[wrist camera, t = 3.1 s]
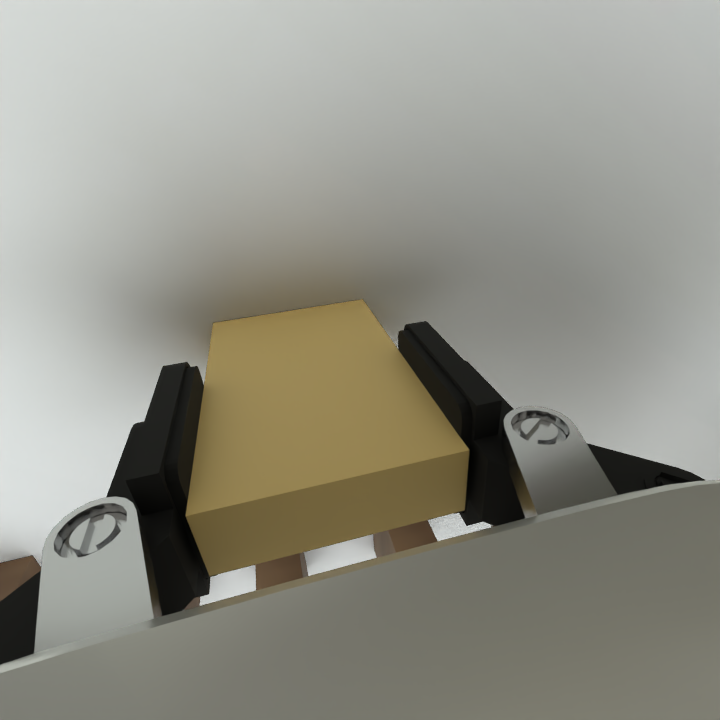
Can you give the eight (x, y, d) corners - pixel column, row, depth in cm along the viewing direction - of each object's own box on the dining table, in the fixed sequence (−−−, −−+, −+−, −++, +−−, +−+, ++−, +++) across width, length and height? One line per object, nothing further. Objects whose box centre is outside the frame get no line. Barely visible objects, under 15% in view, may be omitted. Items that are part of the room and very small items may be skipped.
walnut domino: (291, 495, 18) (321, 718, 11) (306, 568, 20) (339, 787, 14) (253, 504, 18) (260, 738, 11) (273, 576, 20) (290, 805, 13)
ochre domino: (213, 322, 14) (185, 515, 7) (362, 299, 15) (469, 449, 8) (224, 365, 14) (209, 576, 8) (365, 340, 15) (464, 510, 9)
